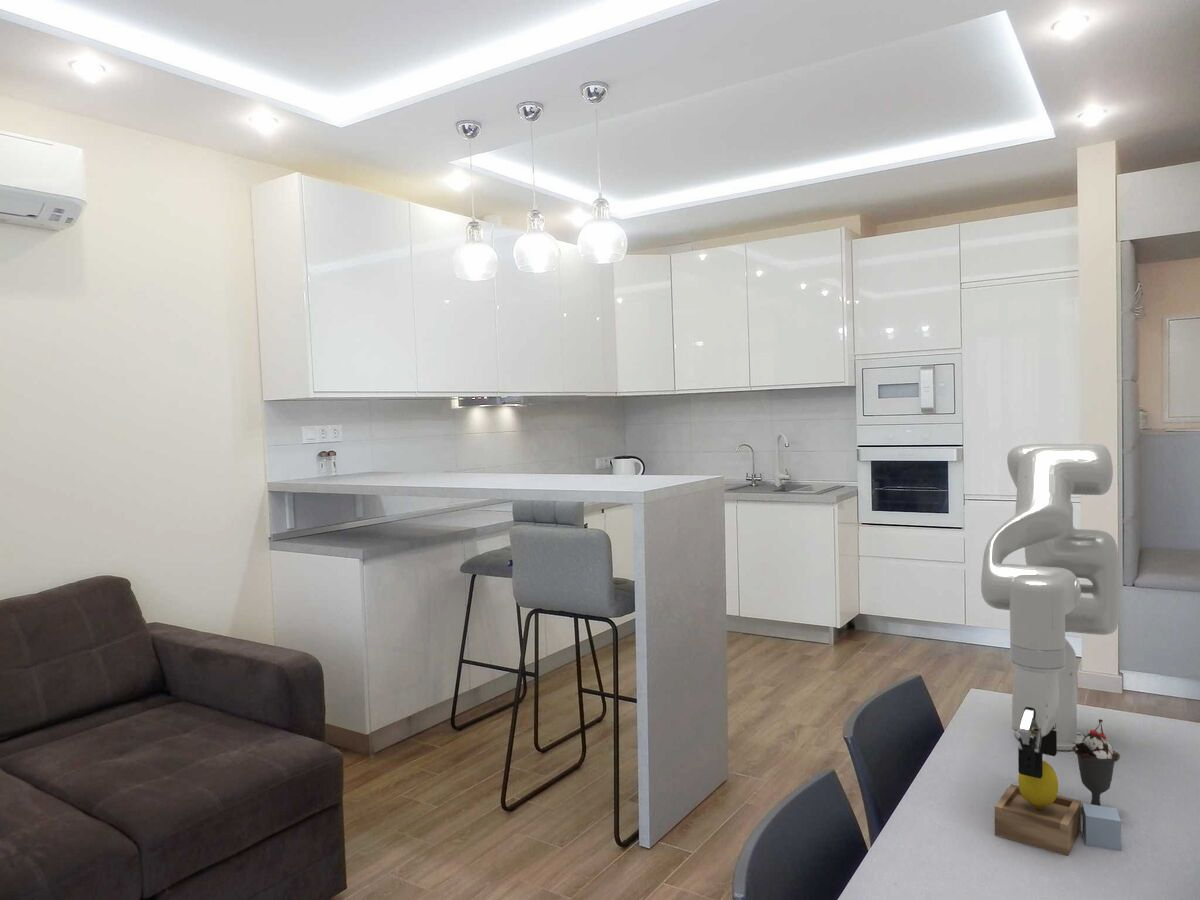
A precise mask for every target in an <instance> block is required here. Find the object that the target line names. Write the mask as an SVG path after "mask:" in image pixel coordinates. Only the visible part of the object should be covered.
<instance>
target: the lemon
mask: <svg viewBox="0 0 1200 900" xmlns="http://www.w3.org/2000/svg"><path fill="white" fill-rule="evenodd" d="M1017 784H1018V785H1017V786H1019V789H1020V792H1021V794H1022V796H1023V797H1024V798H1025V800H1026V801H1028V802H1029V803H1031V804H1033V805H1034V806H1035V807H1036V808H1037V809H1041V808H1042V807H1044V806H1048V805H1050V804H1052V803H1053V802H1054V801H1055V799H1056V797H1057V795H1058V794H1059V780H1058V776H1057V773H1056V771H1055V769H1054V768H1053V767H1052V766H1051V765H1050V764H1049V763H1048V762H1047V761H1046V760H1043V776H1042V778H1040V779H1039V778H1035V777H1031V776H1026V775H1022V774H1020V773H1019V772H1018V777H1017ZM1058 796H1059V795H1058Z"/></svg>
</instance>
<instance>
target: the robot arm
mask: <svg viewBox="0 0 1200 900" xmlns="http://www.w3.org/2000/svg"><path fill="white" fill-rule="evenodd" d="M1006 460H1007V468H1008V472H1009V475H1010V477H1011V480H1012V482H1013V484H1014V486H1015V488H1016V498H1015V499H1016V500H1015V511H1014V512H1015V513H1014V515H1013V516H1012V517H1011V518H1009V519H1008V520H1006V521H1005V522H1004V523H1002V525H1000V526H999V527H998V528H997V529H996V530H995V531H994V532H993V534H992V535H991V536H990V538H989V539H988V541H987V543H986V545H985V549H984V552H983V557H982V558H983V559H982V567H981V569H982V570H981V577H980V579H981V580H980V586H981V587H980V589H981V595H982V599H983V600H984V602H985V603H986V605H988V606H989V607H991V608H993V609H995V610H996V609H997V610H1004V611H1005V610H1006V611H1009V642H1010V643H1009V653H1010V655H1009V657H1010V658H1009V659H1010V661H1009V662H1010V664H1011V665H1012V666H1013V667H1014V675H1013V684H1012V685H1013V686H1012V699H1011V702H1012V704H1011V724H1010V725H1011V729H1012V731H1014V736H1015V738H1017V739H1018V745H1017V746H1018V747H1017V750H1018V751H1017V752H1018V753H1017V755H1018V763H1017V764H1018V766H1017V767H1018V768H1017V769H1018V771H1017V772H1018V774H1019V773H1020V774H1022V775H1026V776H1031V777H1035V778H1039V779H1040V778H1042V776H1043V761H1044V760H1043V755H1045V756H1052V757H1055V756H1057V752H1058V751H1073V749H1072V747H1074V746H1076V745H1075V744H1076V743H1081V741H1082V739H1083V737H1084V736H1085V735H1084V734H1083V733H1081V732H1080V731H1078V730H1077V729H1078V728H1077V727H1078V726H1077V725H1078V724H1077V721H1078V720H1077V719H1078V718H1077V711H1078V710H1077V705H1078V704H1077V701H1078V700H1077V698H1078V697H1077V692H1078V691H1077V684H1078V683H1077V682H1078V681H1077V654H1076V652H1075V649H1074V648H1073V646H1072V644H1071V643H1070V642H1069V641H1068V639H1067V638H1066V633H1073V634H1074V633H1077V634H1086V635H1087V634H1088V635H1100V636H1107V635H1111V634H1113V633H1115V632H1116V631H1117V629H1118V626H1119V621H1120V575H1119V574H1120V571H1119V570H1120V568H1119V567H1120V566H1119V552H1118V551H1119V550H1118V546H1117V543H1116V540H1115V538H1114V536H1113V535H1112V534H1110V533H1109V532H1107V531H1104V530H1099V529H1087V528H1086V529H1082V528H1081V529H1079V528H1075V527H1074V518H1073V517H1074V506H1073V503H1072V499H1071V498H1072V495H1075V496H1076V495H1077V496H1078V495H1079V496H1080V495H1081V496H1084V495H1085V496H1101V495H1105V494H1107V493H1108V492H1109V491H1110V489H1111V486H1112V482H1113V477H1114V476H1113V475H1114V470H1113V469H1114V468H1113V460H1112V455H1111V453H1110V451H1109V449H1108V448H1107V446H1106V445H1104V444H1101V443H1035V444H1034V443H1033V444H1022V445H1018V446H1015V447H1013V448H1012V449H1010V450H1009V452H1008V454H1007V459H1006ZM1023 548H1024V558H1025V563H1026V564H1012V563H1003V561H1004V560H1005V559H1006V558H1007V557H1008V556H1009V555H1011V554H1013V553H1014V552H1016V551H1018V550H1021V549H1023ZM1079 579H1086V580H1088V581H1090V582H1091V584H1085V583H1084V584H1083V583H1081V582H1080V580H1079Z"/></svg>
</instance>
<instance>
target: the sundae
mask: <svg viewBox="0 0 1200 900" xmlns="http://www.w3.org/2000/svg"><path fill="white" fill-rule="evenodd" d="M1102 723H1103V719H1098V726H1096V728H1095V729H1091V730H1089V733H1088V734H1085V735H1084V737H1083V739H1082V741H1081V743H1076V744H1075V745H1076V746H1074V747H1072V749H1073V750H1072V751H1073V752H1074V753H1075V754H1076V756H1077V762H1078V768H1079V775H1080V779H1081V783H1082V785H1083V786H1084V787H1085V788H1086V789H1087V790H1088V791H1090V793H1091V802H1090V804H1091V805H1098V806H1102V805H1101V794H1103V793H1105V792H1106V791H1108V790H1109V789H1111V785H1112V779H1113V772H1114V767H1115V763H1116V762H1118V761H1119V760H1120V757H1121V755H1120V753H1119V752H1117V751H1115V750H1114V749H1113V747H1112V745H1111V744H1110V743H1109V742H1108V741H1107V740H1106V739H1107V736H1106V735H1105V733H1104V732H1103V731H1104V729H1103V724H1102ZM1099 727H1100V731H1101V732H1099V733H1098V731H1097V730H1098V729H1099ZM1081 815H1082V805H1081Z"/></svg>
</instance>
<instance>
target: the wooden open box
mask: <svg viewBox="0 0 1200 900" xmlns="http://www.w3.org/2000/svg"><path fill="white" fill-rule="evenodd" d="M1081 806H1082V801H1081V800H1078V799H1075V798H1070V797H1066V796H1063V795H1057V797H1056V799H1055V801H1054V802H1053V803H1052V804H1050V805H1048V806H1044V807H1042V808H1041V809H1037V808H1036V807H1035V806H1034V805H1033V804H1031V803H1029V802H1028V801H1026V800H1025V798H1024V797H1023V796H1022V794H1021V792H1020V789H1019V785H1017V784H1016V785H1015V784H1010V785H1009V787H1008V788H1007V789H1006V790H1005V791H1004V793H1003V794H1002V796H1001V797H1000V798H999V800H998V801H997V802H996V804H995V805H994V836H997V837H1001V838H1003V839H1008V840H1011V841H1014V842H1018V843H1022V844H1025V845H1028V846H1032V847H1036V848H1039V849H1042V850H1046V851H1051V852H1053V853H1054V852H1055V853H1057V854H1061V855H1064V856H1067V857H1068V856H1069V854H1070V853H1071V851H1072V848H1073V847H1074V845H1075V843H1076V840H1077V839H1078V837H1079V835H1080V833H1081V832H1082V831H1081V830H1082V814H1081Z"/></svg>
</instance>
